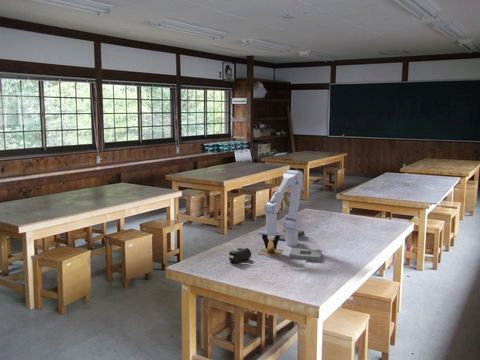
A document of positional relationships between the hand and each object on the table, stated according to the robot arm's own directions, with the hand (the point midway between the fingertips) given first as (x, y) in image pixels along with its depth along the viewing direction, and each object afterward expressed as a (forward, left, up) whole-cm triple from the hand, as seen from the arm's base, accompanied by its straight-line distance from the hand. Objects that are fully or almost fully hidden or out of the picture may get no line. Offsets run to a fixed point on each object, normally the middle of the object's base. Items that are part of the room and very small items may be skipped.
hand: (270, 248), depth 256 cm
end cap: (+18, -13, -3) cm, 22 cm away
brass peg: (0, 0, -2) cm, 2 cm away
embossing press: (-36, +5, -3) cm, 36 cm away
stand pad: (0, 0, -3) cm, 3 cm away
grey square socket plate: (+1, +19, -3) cm, 19 cm away
